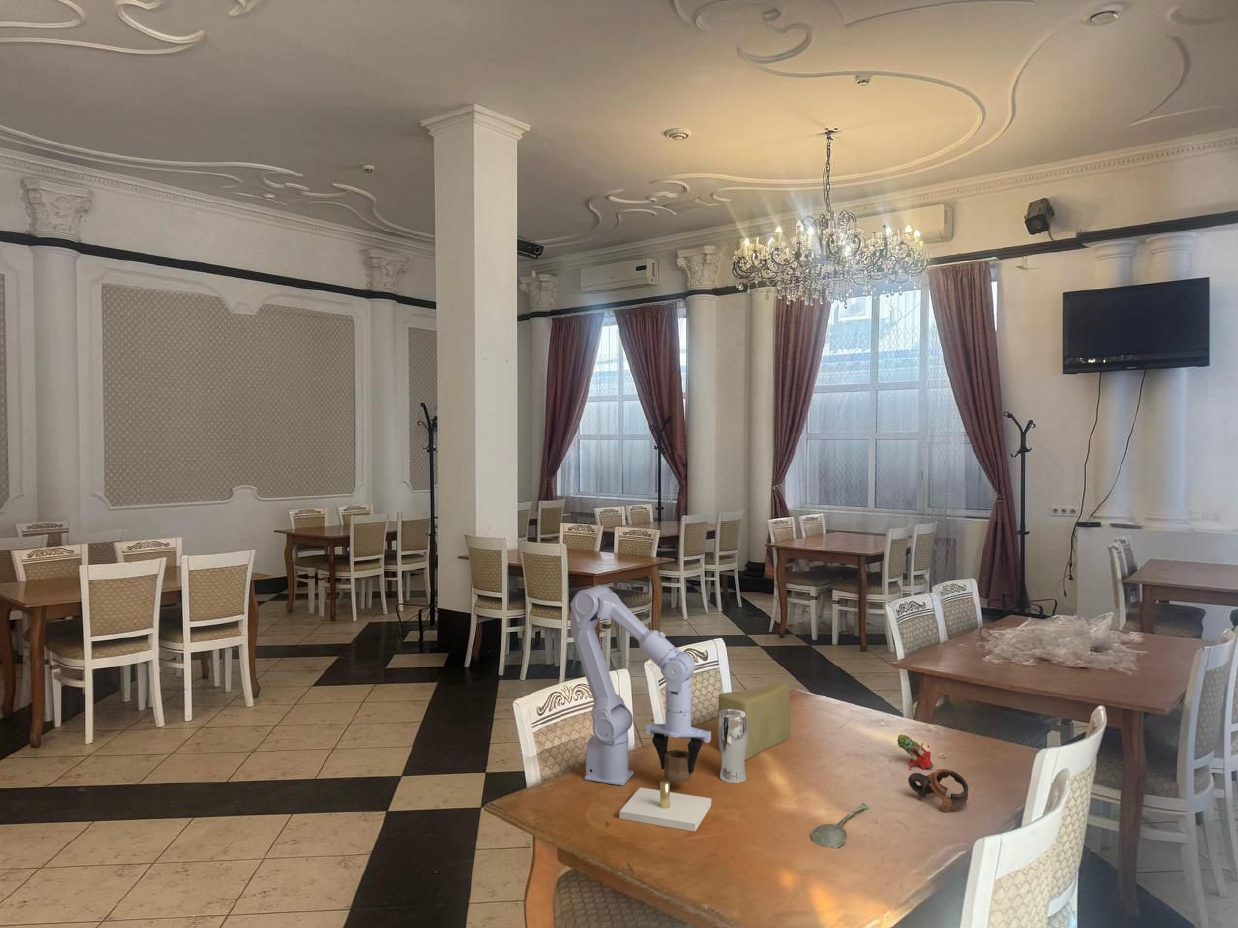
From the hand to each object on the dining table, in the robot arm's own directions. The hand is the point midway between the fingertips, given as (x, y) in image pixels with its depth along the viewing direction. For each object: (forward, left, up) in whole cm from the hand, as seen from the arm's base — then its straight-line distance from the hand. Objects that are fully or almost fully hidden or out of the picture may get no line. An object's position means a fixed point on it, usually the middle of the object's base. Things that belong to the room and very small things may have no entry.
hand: (677, 769), depth 181 cm
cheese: (+12, +34, -5) cm, 36 cm away
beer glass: (+10, +11, -5) cm, 16 cm away
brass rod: (+1, -13, -4) cm, 14 cm away
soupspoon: (+37, -5, -5) cm, 37 cm away
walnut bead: (0, 0, -2) cm, 2 cm away
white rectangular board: (+1, -12, -4) cm, 13 cm away
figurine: (+50, +34, -5) cm, 61 cm away
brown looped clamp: (+54, +14, -5) cm, 56 cm away
